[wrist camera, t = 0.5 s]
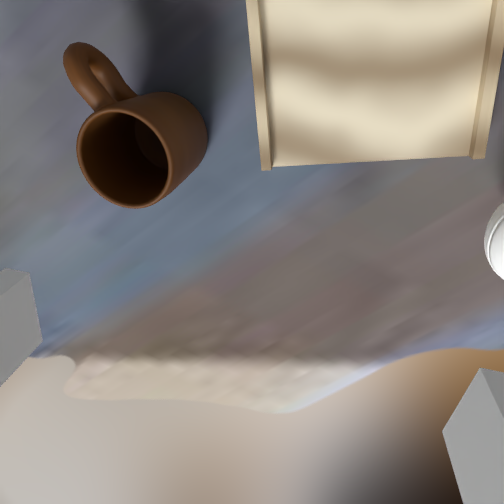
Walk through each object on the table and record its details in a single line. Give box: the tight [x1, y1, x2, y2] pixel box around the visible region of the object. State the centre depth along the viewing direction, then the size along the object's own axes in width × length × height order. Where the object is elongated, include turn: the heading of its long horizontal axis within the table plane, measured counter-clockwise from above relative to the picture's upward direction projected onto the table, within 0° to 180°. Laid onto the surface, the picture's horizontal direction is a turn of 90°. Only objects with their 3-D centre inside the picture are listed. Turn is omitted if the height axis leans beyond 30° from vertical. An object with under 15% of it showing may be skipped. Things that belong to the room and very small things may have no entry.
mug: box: [63, 42, 208, 209], centre depth 31 cm, size 12×8×9 cm, turn 26°
